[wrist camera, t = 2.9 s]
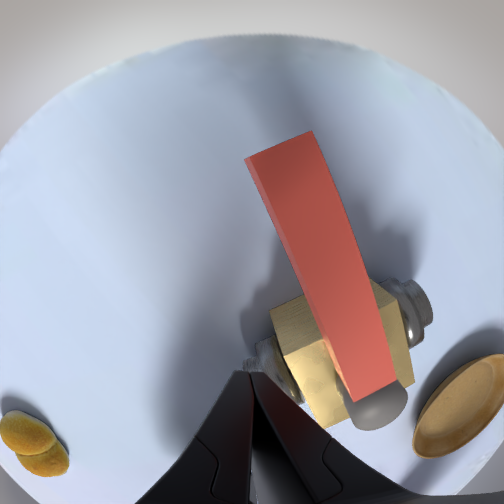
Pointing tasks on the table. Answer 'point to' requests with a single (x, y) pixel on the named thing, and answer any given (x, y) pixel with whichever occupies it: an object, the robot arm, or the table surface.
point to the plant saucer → (460, 407)
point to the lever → (330, 276)
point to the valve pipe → (316, 353)
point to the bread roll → (34, 444)
